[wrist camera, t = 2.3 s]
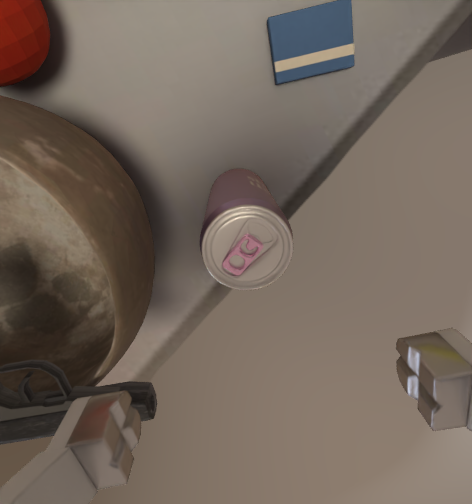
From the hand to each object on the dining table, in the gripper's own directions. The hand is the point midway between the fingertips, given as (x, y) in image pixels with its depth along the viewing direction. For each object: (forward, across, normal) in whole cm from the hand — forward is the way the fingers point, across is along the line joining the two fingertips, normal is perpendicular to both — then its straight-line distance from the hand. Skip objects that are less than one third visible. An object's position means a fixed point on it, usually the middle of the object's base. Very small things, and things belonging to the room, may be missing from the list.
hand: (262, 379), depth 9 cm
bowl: (+25, +19, -1) cm, 32 cm away
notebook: (+25, -9, -12) cm, 29 cm away
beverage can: (+25, 0, 0) cm, 25 cm away
